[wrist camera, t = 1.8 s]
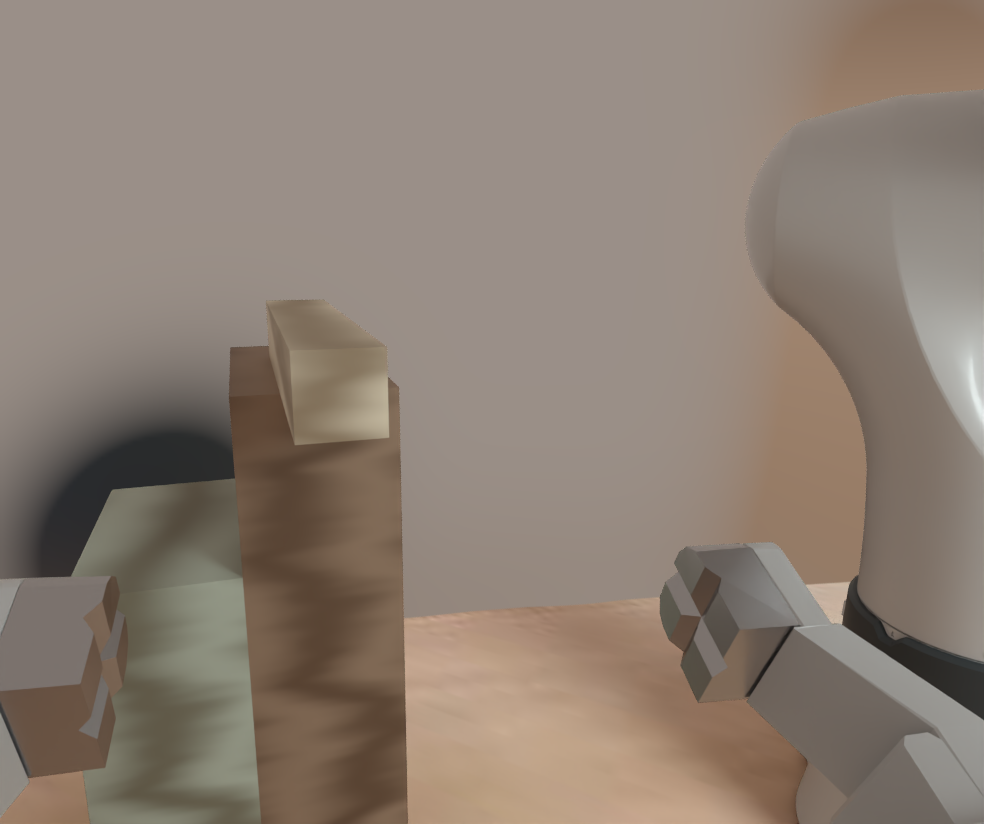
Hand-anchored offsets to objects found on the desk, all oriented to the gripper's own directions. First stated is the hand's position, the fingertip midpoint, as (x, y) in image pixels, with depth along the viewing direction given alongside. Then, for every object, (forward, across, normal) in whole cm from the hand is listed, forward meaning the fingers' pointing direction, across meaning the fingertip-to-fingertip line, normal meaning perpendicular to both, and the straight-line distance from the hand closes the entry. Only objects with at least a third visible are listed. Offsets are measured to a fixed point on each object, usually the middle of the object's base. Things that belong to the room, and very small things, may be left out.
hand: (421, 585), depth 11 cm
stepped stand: (+14, +4, +37) cm, 40 cm away
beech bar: (+20, +1, +11) cm, 22 cm away
